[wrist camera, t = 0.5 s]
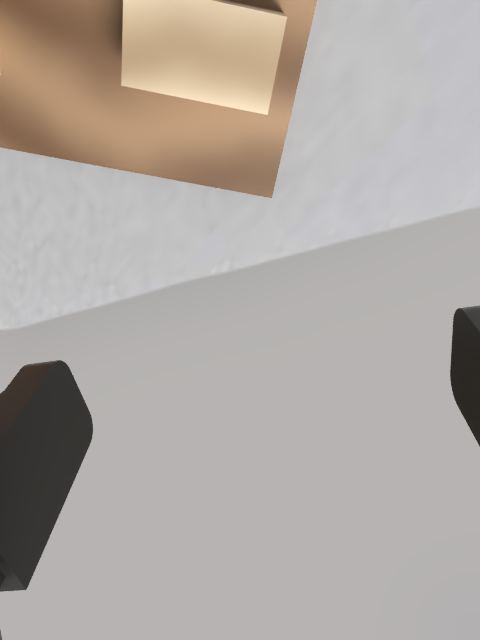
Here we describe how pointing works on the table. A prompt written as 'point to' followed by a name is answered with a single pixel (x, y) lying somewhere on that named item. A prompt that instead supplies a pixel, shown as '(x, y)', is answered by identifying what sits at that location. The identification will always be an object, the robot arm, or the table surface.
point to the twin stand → (155, 85)
